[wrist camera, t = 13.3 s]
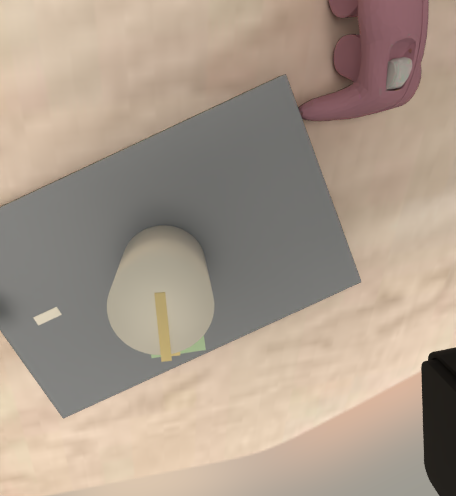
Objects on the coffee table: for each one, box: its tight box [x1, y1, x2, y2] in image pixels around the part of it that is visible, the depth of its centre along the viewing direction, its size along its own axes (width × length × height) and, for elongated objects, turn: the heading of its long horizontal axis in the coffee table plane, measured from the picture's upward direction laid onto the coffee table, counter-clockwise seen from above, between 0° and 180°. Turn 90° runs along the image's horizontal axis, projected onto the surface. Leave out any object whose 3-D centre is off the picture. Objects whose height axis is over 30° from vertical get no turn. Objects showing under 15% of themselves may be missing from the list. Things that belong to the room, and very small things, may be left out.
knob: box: [107, 225, 214, 362], centre depth 24 cm, size 8×5×7 cm, turn 3°
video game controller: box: [298, 0, 428, 121], centre depth 23 cm, size 10×5×7 cm, turn 9°
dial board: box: [0, 74, 361, 418], centre depth 27 cm, size 22×14×2 cm, turn 114°
